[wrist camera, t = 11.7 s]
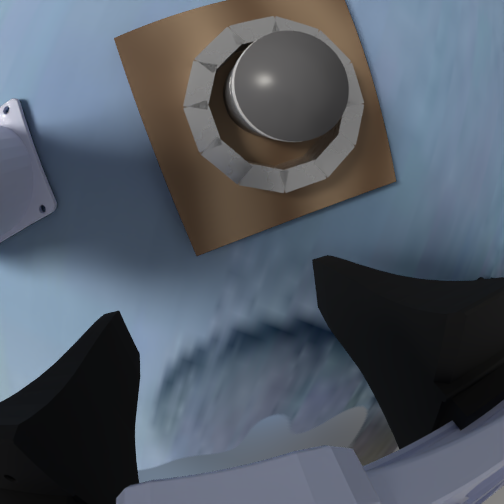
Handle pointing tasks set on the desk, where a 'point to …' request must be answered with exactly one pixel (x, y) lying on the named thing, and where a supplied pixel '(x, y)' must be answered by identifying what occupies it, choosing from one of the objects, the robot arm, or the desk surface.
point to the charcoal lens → (287, 87)
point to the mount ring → (252, 173)
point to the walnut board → (243, 143)
